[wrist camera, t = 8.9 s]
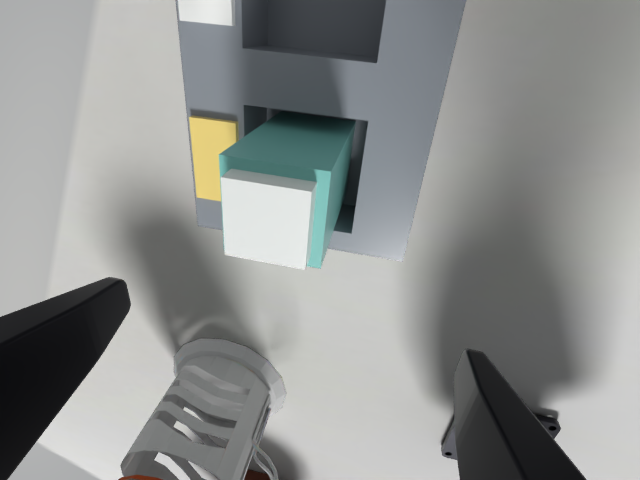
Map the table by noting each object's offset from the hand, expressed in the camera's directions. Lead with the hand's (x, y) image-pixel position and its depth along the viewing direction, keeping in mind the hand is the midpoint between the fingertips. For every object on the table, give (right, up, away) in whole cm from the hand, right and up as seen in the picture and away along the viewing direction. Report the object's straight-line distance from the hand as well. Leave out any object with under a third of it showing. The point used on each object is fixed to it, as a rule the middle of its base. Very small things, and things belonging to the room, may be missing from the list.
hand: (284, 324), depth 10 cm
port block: (+1, +10, +8) cm, 13 cm away
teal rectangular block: (+1, +6, +9) cm, 11 cm away
